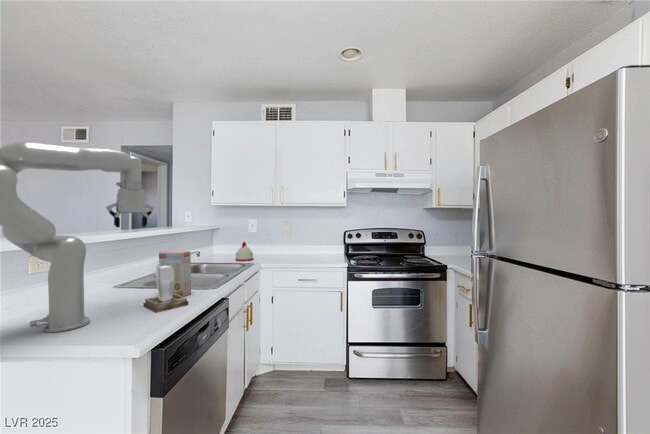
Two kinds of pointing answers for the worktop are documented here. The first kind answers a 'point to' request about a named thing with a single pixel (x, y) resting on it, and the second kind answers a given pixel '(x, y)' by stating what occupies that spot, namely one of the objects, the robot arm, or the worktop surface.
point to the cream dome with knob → (244, 253)
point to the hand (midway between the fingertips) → (131, 226)
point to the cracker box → (178, 269)
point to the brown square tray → (165, 303)
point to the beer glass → (165, 283)
